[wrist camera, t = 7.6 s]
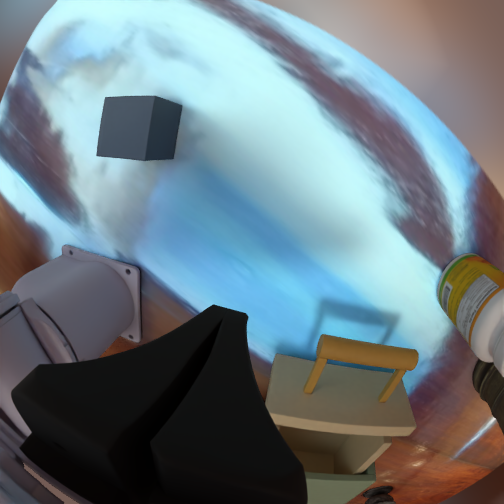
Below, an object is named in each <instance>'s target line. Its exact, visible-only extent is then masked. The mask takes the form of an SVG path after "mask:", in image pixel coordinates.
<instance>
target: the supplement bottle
mask: <svg viewBox="0 0 504 504" xmlns="http://www.w3.org/2000/svg"><path fill="white" fill-rule="evenodd" d="M437 296H438V301H439V304H440V306H441V308H442V309H443V311H444V312H445V313H446V315H447V316H448V317H449V319H450V320H451V321H452V323H453V324H454V325H455V327H456V328H457V329H458V331H459V332H460V333H461V335H462V336H463V338H464V339H465V340H466V342H467V343H468V345H469V346H470V348H471V349H472V351H473V352H474V353H475V355H476V356H477V357H478V358H479V359H480V360H482V361H484V362H494V365H495V367H496V368H497V369H498V371H499V372H500V374H501V375H502V376H503V377H504V273H503V272H502V271H500V270H499V269H498V268H496V267H495V266H493V265H492V264H491V263H489V262H488V261H486V260H485V259H483V258H482V257H480V256H479V255H476V254H473V253H466V254H462V255H460V256H458V257H456V258H455V259H454V260H453V261H451V262H450V263H449V265H448V266H447V267H446V268H445V270H444V272H443V273H442V275H441V278H440V281H439V284H438V289H437Z"/></svg>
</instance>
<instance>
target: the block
mask: <svg viewBox="0 0 504 504" xmlns="http://www.w3.org/2000/svg"><path fill="white" fill-rule="evenodd" d="M181 110H182V105H179V104H177V103H174V102H171V101H169V100H166V99H163V98H160V97H157V96H120V97H105V101H104V106H103V112H102V118H101V124H100V131H99V138H98V146H97V155H96V156H101V157H112V158H123V159H132V160H141V161H150V160H166V159H173V157H174V151H175V144H176V138H177V132H178V126H179V121H180V115H181Z"/></svg>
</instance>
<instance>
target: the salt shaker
mask: <svg viewBox="0 0 504 504" xmlns="http://www.w3.org/2000/svg"><path fill="white" fill-rule="evenodd" d="M391 490H392V487H391V486H383V487H377V488H374V489H371V490H368V491H366V492H365V493H364V494H363V496H364V497H367V498H369V499H368V500H367V501H366V502H365V504H396V502H394V501H393V498H392V496H390V495H388V493H389V492H390V491H391Z"/></svg>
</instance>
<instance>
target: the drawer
mask: <svg viewBox="0 0 504 504" xmlns="http://www.w3.org/2000/svg"><path fill="white" fill-rule="evenodd" d="M316 355H317V358H316V361H311V360H306V359H301V358H296V357H291V356H287V355H282V354H277V353H276V354H275V358H274V361H273V364H272V370H271V375H270V381H269V386H268V392H267V397H266V402H265V405H266V407H267V409H268V411H269V413H270V415H271V417H272V419H273V421H274V423H275V425H276V427H277V429H278V430H279V432H280V433H281V435H282V437H283V438H284V440H285V441H286V443H287V444H288V446H289V447H290V449H291V450H292V452H293V453H294V454H295V456H296V457H297V458H298V459H299V461H300V462H301V463H302V465H303V467H304V471H305V472H314V473H326V474H347V475H360V474H361V473H362V472H363V471H364V470H366V469H367V468H368V467H369V466H370V465H371V464H372V463H373V462H374V461H375V460H376V459H377V458H378V457H379V456H380V455H381V454H382V453H383V452H384V451H385V450H386V449H387V448H388V447H389V446H390V445H391V444H392V439H391V436H409V435H410V434H411V433H412V432H413V431H414V429H415V428H416V423H415V420H414V416H413V413H412V409H411V406H410V403H409V400H408V396H407V393H406V390H405V387H404V384H403V381H402V377H403V376H404V374H405V372H406V370H409V371H411V370H413V369H414V368H415V367H416V365H417V363H418V352H417V350H415V349H408V348H401V347H394V346H387V345H381V344H375V343H369V342H363V341H357V340H352V339H346V338H341V337H336V336H331V335H326V334H322V335H321V337H320V339H319V342H318V345H317V351H316ZM328 359H330V360H336V361H342V362H348V363H354V364H361V365H368V366H375V367H383V368H391V369H396V370H395V371H394V373H389V372H380V371H373V370H365V369H358V368H352V367H345V366H339V365H333V364H327V363H326V362H327V360H328Z"/></svg>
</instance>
